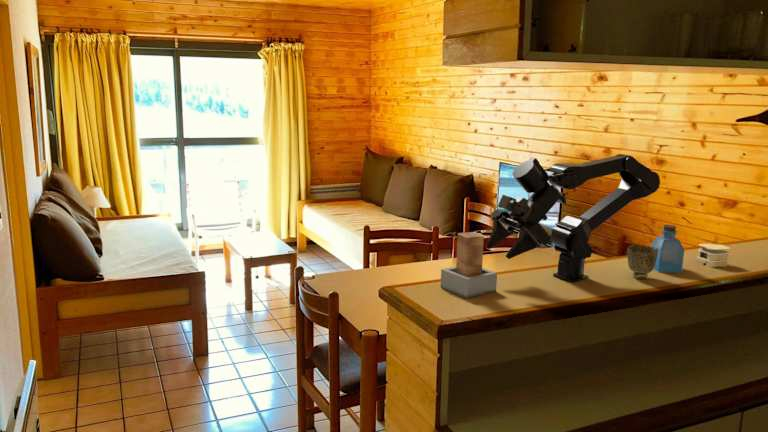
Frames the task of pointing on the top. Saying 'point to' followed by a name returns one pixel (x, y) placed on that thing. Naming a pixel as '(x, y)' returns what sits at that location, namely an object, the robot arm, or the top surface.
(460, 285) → the slate well
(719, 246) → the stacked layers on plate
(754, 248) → the top surface
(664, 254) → the perfume bottle
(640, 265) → the cup
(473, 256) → the walnut block
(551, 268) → the top surface
